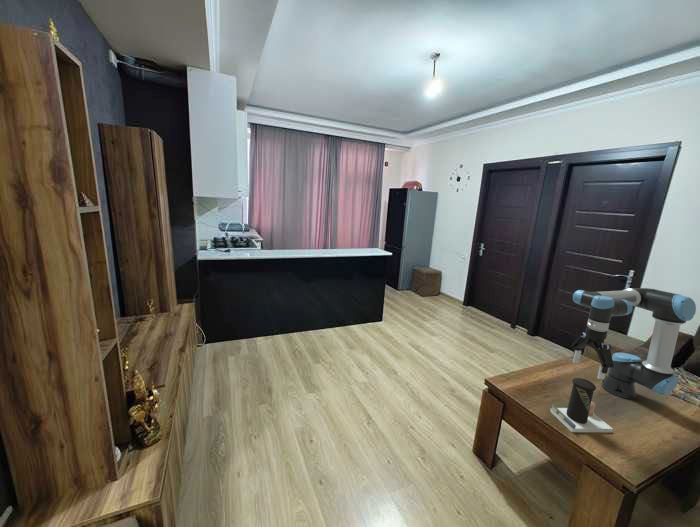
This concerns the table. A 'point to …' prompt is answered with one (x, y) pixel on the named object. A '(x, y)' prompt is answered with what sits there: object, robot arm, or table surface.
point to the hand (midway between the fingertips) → (587, 370)
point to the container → (580, 400)
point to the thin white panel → (591, 426)
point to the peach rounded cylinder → (592, 408)
